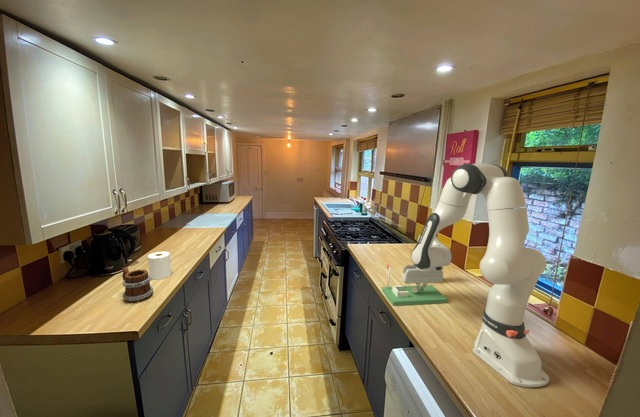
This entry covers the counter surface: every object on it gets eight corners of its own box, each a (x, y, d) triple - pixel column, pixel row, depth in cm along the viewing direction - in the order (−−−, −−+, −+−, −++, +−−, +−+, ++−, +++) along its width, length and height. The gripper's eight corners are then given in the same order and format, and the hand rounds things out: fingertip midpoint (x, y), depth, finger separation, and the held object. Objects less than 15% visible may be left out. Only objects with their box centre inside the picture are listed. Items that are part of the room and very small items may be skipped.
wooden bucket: (135, 306, 114) (128, 273, 112) (115, 303, 119) (107, 272, 117) (160, 293, 124) (153, 263, 122) (140, 292, 130) (134, 263, 128)
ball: (415, 295, 129) (420, 290, 129) (411, 291, 128) (416, 287, 128) (412, 292, 133) (417, 287, 133) (408, 288, 132) (413, 283, 132)
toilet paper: (145, 279, 138) (143, 258, 136) (156, 271, 148) (154, 251, 146) (164, 279, 138) (163, 258, 136) (174, 271, 149) (173, 251, 146)
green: (447, 302, 126) (451, 276, 124) (392, 305, 122) (395, 278, 119) (429, 287, 141) (432, 263, 139) (380, 289, 137) (382, 264, 135)
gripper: (407, 267, 124) (404, 294, 127) (446, 266, 127) (442, 292, 129) (401, 262, 130) (398, 287, 133) (439, 261, 133) (435, 286, 136)
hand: (420, 290), depth 131 cm, fingers closed
